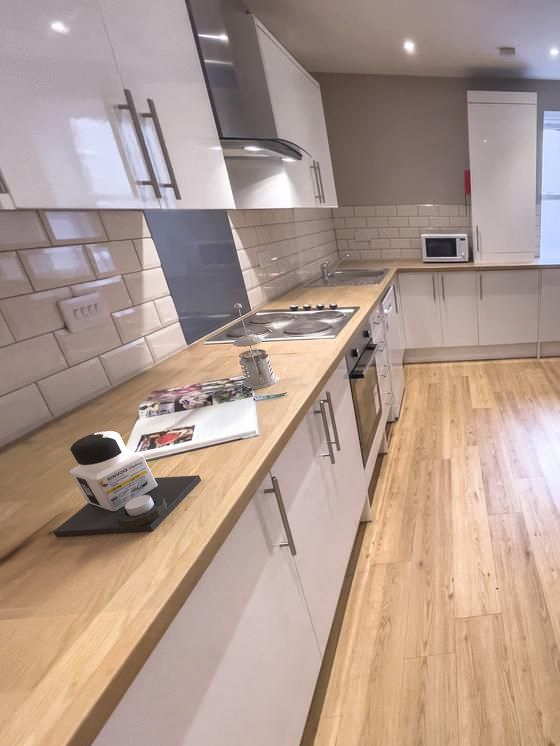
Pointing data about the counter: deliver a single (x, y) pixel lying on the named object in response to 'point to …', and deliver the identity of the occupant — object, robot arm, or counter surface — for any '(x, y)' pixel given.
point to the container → (109, 471)
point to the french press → (254, 361)
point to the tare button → (139, 505)
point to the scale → (120, 521)
